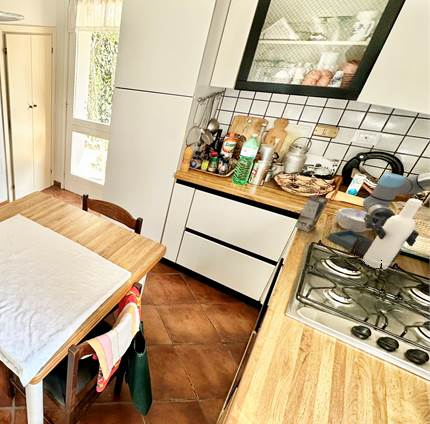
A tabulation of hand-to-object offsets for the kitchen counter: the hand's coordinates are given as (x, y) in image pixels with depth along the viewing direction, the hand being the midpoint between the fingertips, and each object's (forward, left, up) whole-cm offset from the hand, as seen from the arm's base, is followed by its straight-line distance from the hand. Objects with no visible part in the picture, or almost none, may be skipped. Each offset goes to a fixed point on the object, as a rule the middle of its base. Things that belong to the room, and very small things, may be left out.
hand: (397, 239), depth 118 cm
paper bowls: (+29, -32, -17) cm, 46 cm away
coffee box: (+36, -9, -17) cm, 41 cm away
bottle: (+3, -4, -15) cm, 16 cm away
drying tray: (+18, -16, -17) cm, 30 cm away
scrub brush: (+8, -9, -17) cm, 21 cm away
